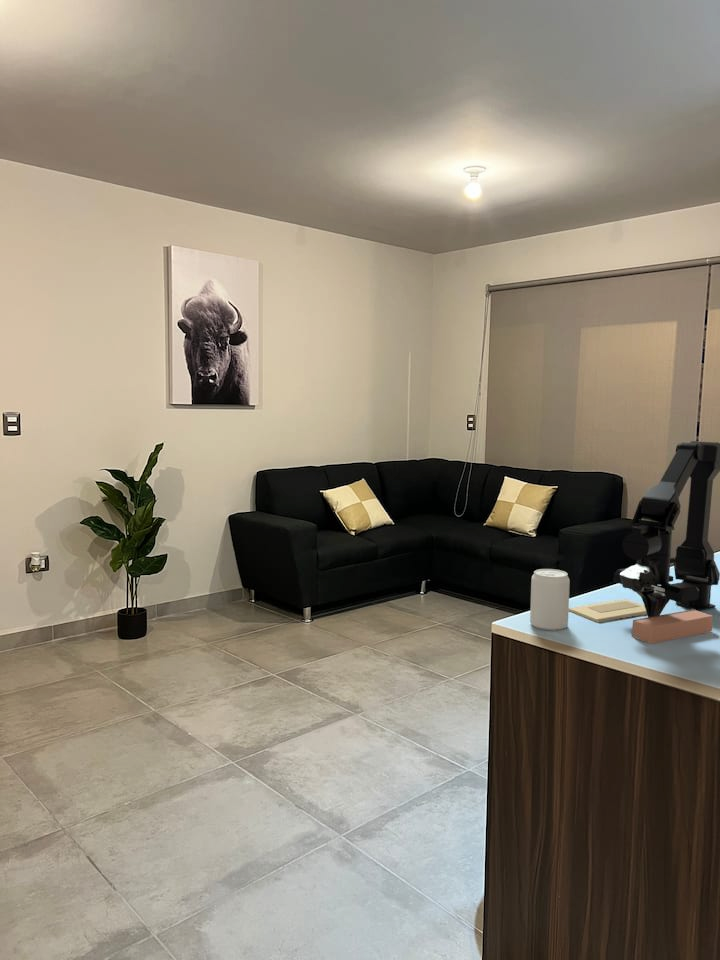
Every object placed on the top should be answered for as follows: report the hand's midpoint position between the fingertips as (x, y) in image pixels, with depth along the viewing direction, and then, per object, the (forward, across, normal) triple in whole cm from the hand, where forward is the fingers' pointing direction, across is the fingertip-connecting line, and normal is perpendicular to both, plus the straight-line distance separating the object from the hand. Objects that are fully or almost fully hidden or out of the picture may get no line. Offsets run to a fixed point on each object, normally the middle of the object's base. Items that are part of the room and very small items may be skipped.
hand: (652, 622), depth 161 cm
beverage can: (+1, -10, -20) cm, 23 cm away
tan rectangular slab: (+1, -12, 0) cm, 12 cm away
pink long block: (+1, +5, 0) cm, 5 cm away
